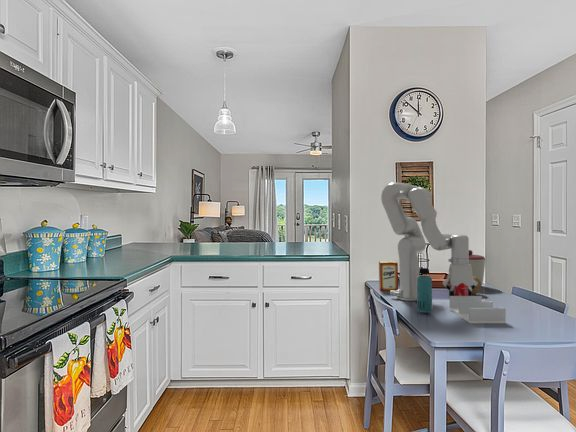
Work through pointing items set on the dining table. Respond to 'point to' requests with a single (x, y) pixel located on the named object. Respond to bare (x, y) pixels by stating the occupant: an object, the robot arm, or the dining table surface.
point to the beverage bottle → (424, 291)
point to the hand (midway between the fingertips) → (460, 298)
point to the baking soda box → (388, 275)
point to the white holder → (476, 309)
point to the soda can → (461, 290)
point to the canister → (477, 265)
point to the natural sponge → (477, 287)
